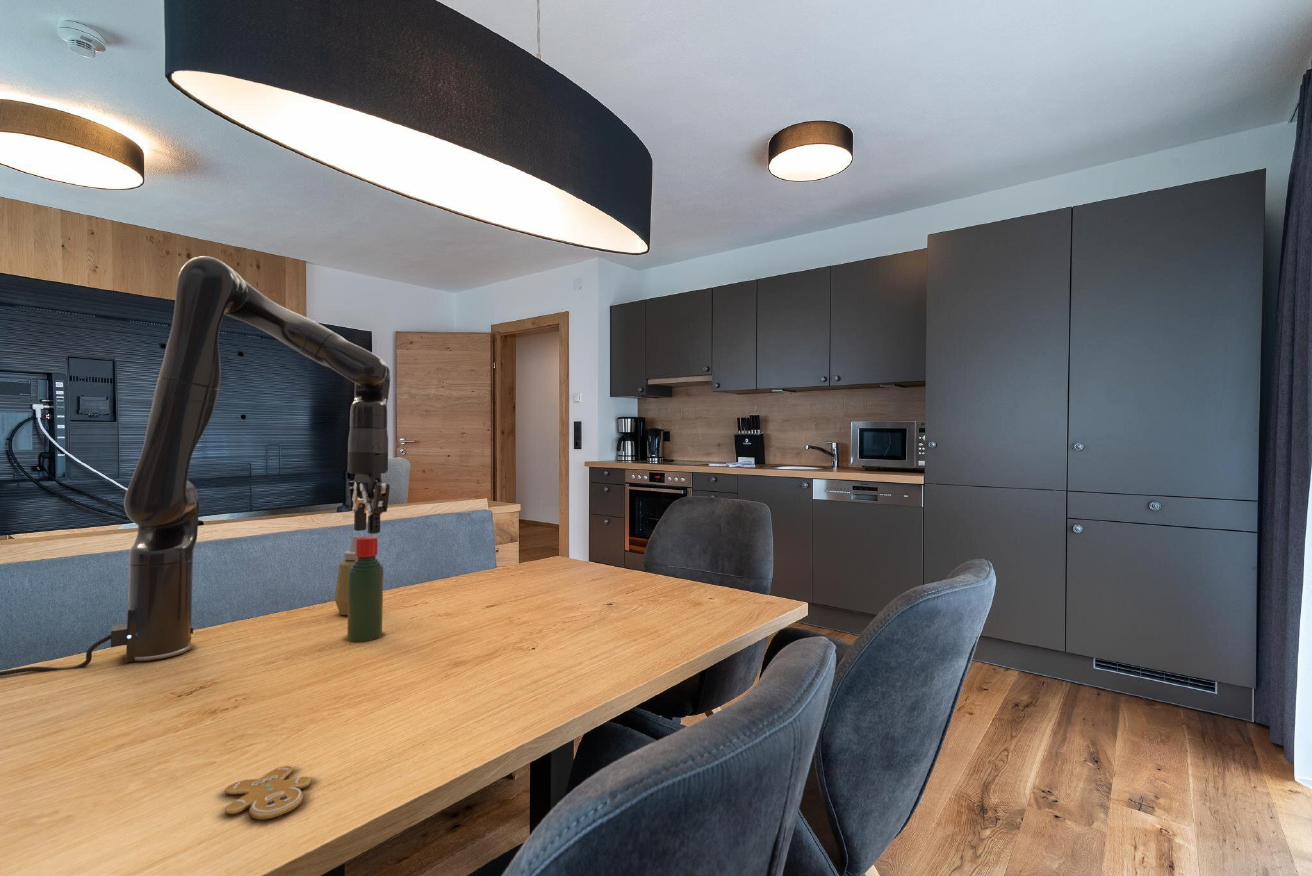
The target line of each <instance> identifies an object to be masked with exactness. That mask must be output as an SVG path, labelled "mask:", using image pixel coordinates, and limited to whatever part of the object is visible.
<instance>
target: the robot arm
mask: <svg viewBox="0 0 1312 876" xmlns="http://www.w3.org/2000/svg"><path fill="white" fill-rule="evenodd" d="M224 316H226V317H230V318H233V319H235V320H238V321H241V322H243V323H245V324H248V325H250V326H252V327H254V328H257V329H259V330H260V331H262V332H265V333H266V334H268V335H270V336H271V337H273V338H275V340H278V341H279V342H280V343H282V344H284V345H286V346H287V347H288V348H291V349H292V350H293V351H295V352H296V353H299V354H301V355H303V356H304V357H306V358H308V359H310V360H312V361H313V362H316V363H317V364H319V365H321V366H324V367H325V368H330V370H331V369H332V370H333V371H335V373H338V374H339V375H341V376H342V377H344V378H346V379H348V380H350V381H351V382H352V383H354V398H353V401H352V403H351V405H350V409H349V433H348V439H347V473H349V474H354V479H353V480H347V482H346V489H347V490H346V491H347V502H348V503H347V504H348V509H349V510H352V513H353V515H354V516H353V529H354V531H356V532H360V531H361V532H362V531H366V530H367V533H368V534H370V535H374V534H380V532H381V515H383V513H387V511H388V505H389V498H390V489H391V485H390V483H389V482H387V483H383V480H382V474H386V473H388V471H389V433H388V401H389V396H390V395H389V394H390V386H391V371H390V367H389V365H388V364H387V362H386V361H384V360H383V359H382V358H381V357H379V355H376V354H375V353H373V352H371V351H369V350H367V349H366V348H363V347H361V346H359V345H357V344H355V343H353V342H350V341H348V340H347V339H345V338H344V337H343V336H341V335H340V334H338V333H336V332H334V331H333V330H331V329H329V328H327V327H325V326H324V325H322V324H320V323H318V322H316V321H314V320H312V319H311V318H308V317H307V316H304V315H302V314H300V313H297V312H295V311H292V310H290V309H288V308H286V307H284V306H282V305H280V304H278V303H276V302H275V301H273V300H272V299H270V298H269V297H267V296H266V295H264V294H263V293H261V292H260V291H259V290H258V289H256V288H255V287H253V285H251V284H249V283H248V282H247V281H246V280H244V279H243V277H242V276H241V275H240V274H239V273H238V272H237V271H235V270H234V269H233V268H232V267H231V266H229V265H227V263H224V262H223V261H221V260H220V259H218V258H216V257H212V256H208V255H206V256H205V255H202V256H197V257H193V258H191V259H189V260H188V261H187V262H186V263H185V264H184V265H183V266H182V267H181V269H180V272H179V273H178V276H177V281H176V289H175V301H174V309H173V317H172V323H171V327H170V332H169V336H168V339H167V343H166V347H165V352H164V355H163V358H162V359H163V360H162V363H161V367H160V370H159V372H158V373H159V374H158V377H157V381H156V384H155V388H154V394H153V398H152V403H151V408H150V413H149V416H148V421H147V426H146V430H145V436H144V442H143V446H142V449H141V453H140V456H139V459H138V461H137V464H136V466H135V469H134V472H133V474H132V477H131V480H130V482H129V484H128V487H127V489H126V493H125V494H124V499H123V507H124V511H125V514H126V516H127V518H128V519H129V520H130V521H131V522H132V523H134V524H135V525H137V535H136V538H135V541H134V543H133V545H132V546H131V547H130V550H129V553H128V586H127V587H128V589H127V590H128V591H127V613H126V615H127V616H126V622H124V623H117V624H111V629H110V634H109V635H107V636H105V637H103V638H101V639H100V640H98V641H96V642H94V643H93V644H91V646H89V647H88V649H87V651H86V654H85V660H84V661H83V662H81V663H79V664H78V665H74V666H71V667H50V666H29V667H28V666H27V667H21V668H14V669H6V670H1V671H0V677H2V676H9V675H14V674H23V673H29V672H54V671H62V670H74V669H81V668H85V667H87V666H88V665H89V664H91V661H92V660H93V659H92V658H93V651H94V650H95V649H96V648H97V647H99V646H100V645H103V644H104V643H106V642H108V641H109V640H110V648H115V647H122V646H125V647H126V648H125V649H126V651H125V663H134V662H150V661H157V660H163V659H167V658H171V657H175V656H179V655H182V654H185V653H186V652H188V651H190V650H191V649H192V635H194V628H193V627H192V619H193V618H192V615H193V583H194V582H193V579H194V578H193V577H194V550H195V547H196V543H197V539H198V534H199V533H198V529H199V516H200V497H199V493H198V490H197V488H196V486H195V485H194V484H193V483H192V482H191V481H190V480H188V476H189V470H190V464H191V461H192V457H193V455H194V454H193V453H194V451H195V449H196V447H197V445H198V443H199V442H200V440H201V438H202V436H203V434H204V433H205V431H206V429H207V428H208V425H209V423H210V421H211V419H212V417H213V415H214V411H215V408H216V404H217V400H218V396H219V393H220V388H221V380H222V367H221V358H220V349H219V335H220V328H221V325H222V322H223V317H224ZM367 514H368V515H367Z"/></svg>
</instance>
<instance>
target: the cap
mask: <svg viewBox="0 0 1312 876" xmlns="http://www.w3.org/2000/svg"><path fill="white" fill-rule="evenodd" d="M378 541H379V540H378V536H374V535H373V536H372V535H371V536H358V538H356V557H373V556H375V557H377V556H378V548H379V547H378V546H379V545H378V543H379V542H378Z"/></svg>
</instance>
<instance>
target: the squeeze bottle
mask: <svg viewBox="0 0 1312 876" xmlns="http://www.w3.org/2000/svg"><path fill="white" fill-rule="evenodd" d="M356 538H359V536H358V535H352V538H351V542H350V546H349V548H348V550H346V551H344V552H343V560H342V561H341V562H340V563H339V564H338V572H337V579H336V588H335V595H334V602H335V605H336V607H337V610H338V613H339V614H340V615H342V616H348V587H349V569H350V567H351V566H352V565H353V563H355V560H357V558H358V557H356Z"/></svg>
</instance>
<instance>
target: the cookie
mask: <svg viewBox="0 0 1312 876" xmlns="http://www.w3.org/2000/svg"><path fill="white" fill-rule="evenodd" d="M293 771H294V767H293V766H291V765H286V766H285V765H284V766H279V767H277V768H275V769H273V770H271V771H269V772H268V773H266V774H265V775H264V776H262V777H260V778H252V779H243V780H238V781H235V782H233V783H232V784H230V785H228V786H227V787H226V788H225V789H224V793H225V795H243V796H241V797H239V798H237V799H235V800H234V801H232V802H231V803H229V804H228V805H227V806H226V807H225V809H224V811H225V813H226V814H228V815H235V814H239V813H241V812H243V811H245V810H246V809H248V808H249V810H248V813H249V816H250V817H252V818H253V819H255V820H269V819H273V818H277V817H280V816H282V815H284V814H288V813H289V812H291V811H293V810H295V809H296V808H297V807H299V806H300V805H301V803H302V802H303V799H304V793H303V791H302V790H301V789H305V788H307V787H308V786H309V785H310V784H312V777H310V776H299V777H294V778H289V779H286V778H287V777H288V776H289V775H290V774H291V773H292V772H293Z"/></svg>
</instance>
